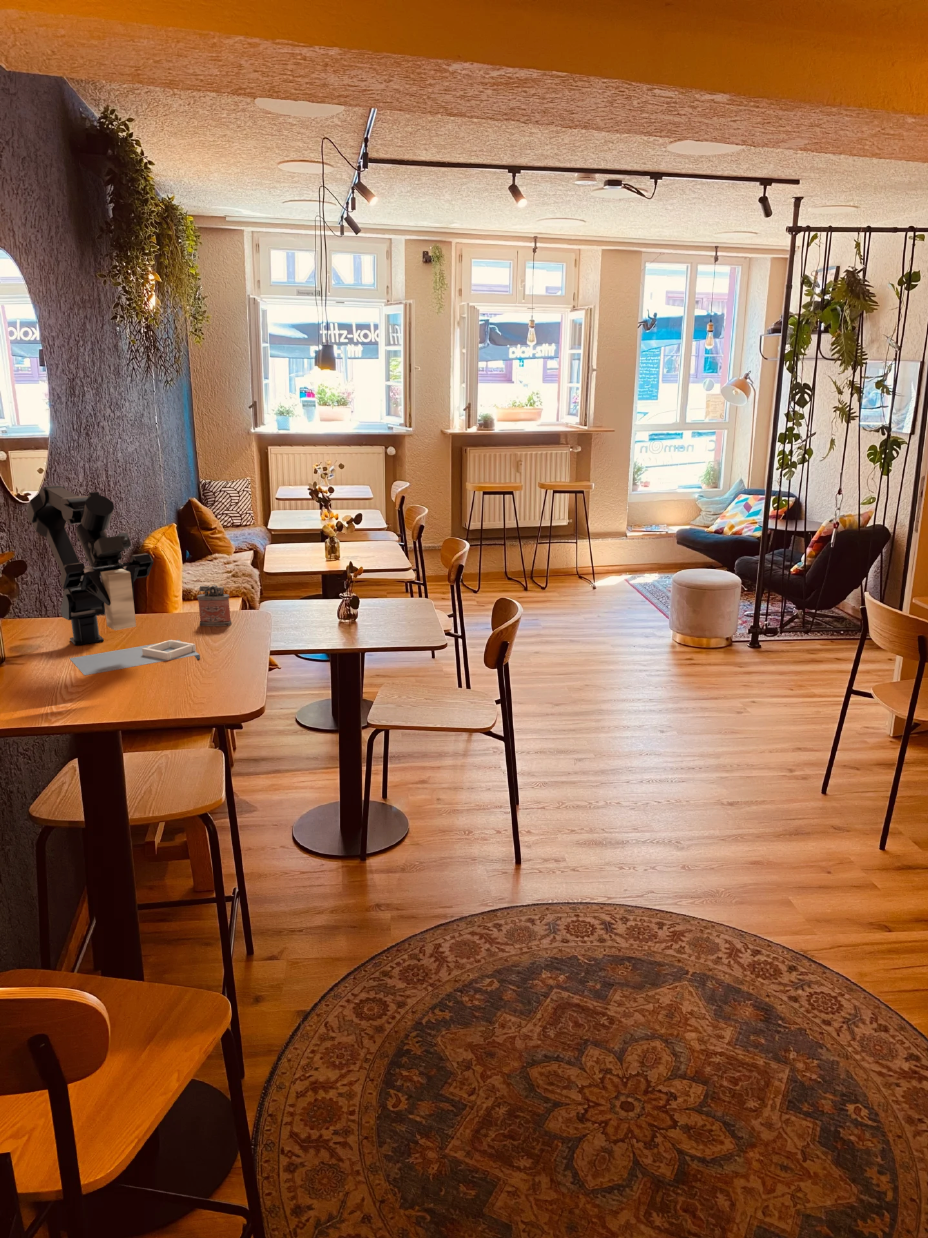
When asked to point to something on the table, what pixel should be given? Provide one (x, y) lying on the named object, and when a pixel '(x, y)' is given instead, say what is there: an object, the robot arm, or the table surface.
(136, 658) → the plate
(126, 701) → the table surface
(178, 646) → the socket
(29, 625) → the table surface
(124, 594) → the birch pillar
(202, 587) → the lighter
